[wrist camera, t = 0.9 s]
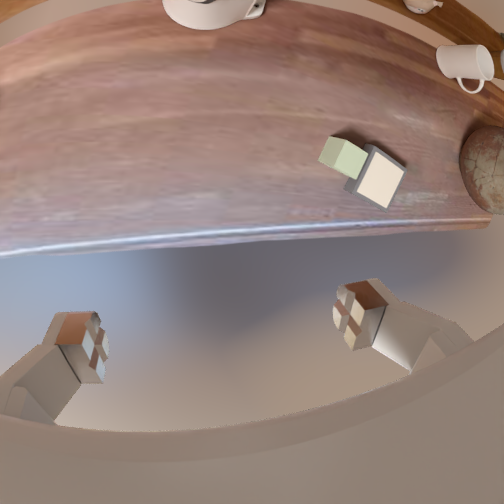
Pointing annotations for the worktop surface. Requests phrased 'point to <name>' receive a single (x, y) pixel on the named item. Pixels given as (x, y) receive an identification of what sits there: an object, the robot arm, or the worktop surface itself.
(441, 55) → the mug
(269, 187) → the worktop surface
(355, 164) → the green block
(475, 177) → the jug
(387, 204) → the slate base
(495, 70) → the disposable coffee cup
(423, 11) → the garlic bulb
